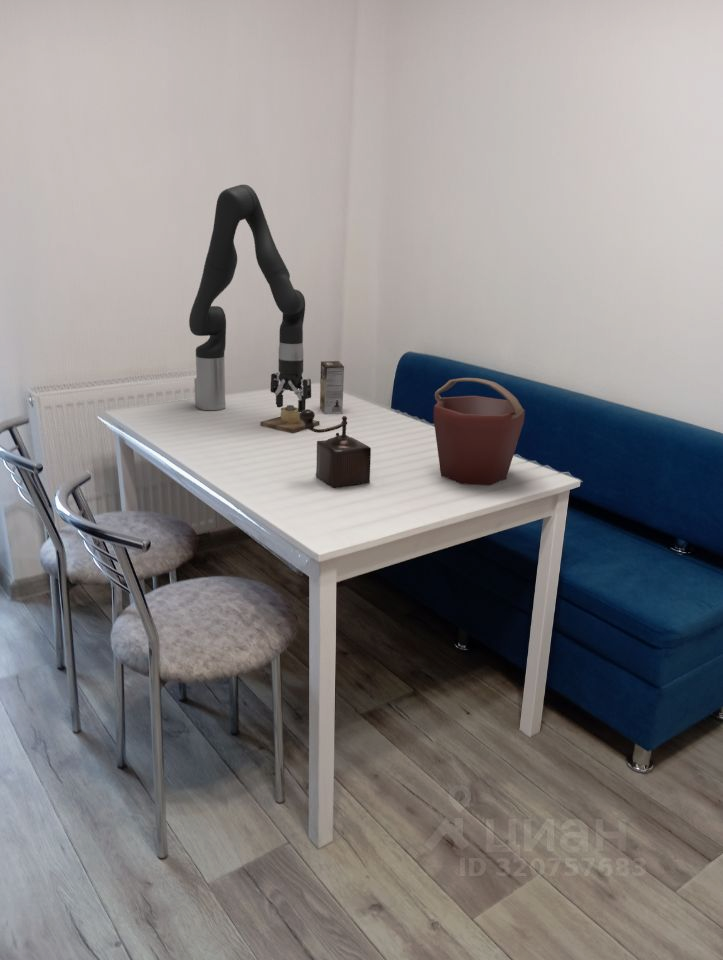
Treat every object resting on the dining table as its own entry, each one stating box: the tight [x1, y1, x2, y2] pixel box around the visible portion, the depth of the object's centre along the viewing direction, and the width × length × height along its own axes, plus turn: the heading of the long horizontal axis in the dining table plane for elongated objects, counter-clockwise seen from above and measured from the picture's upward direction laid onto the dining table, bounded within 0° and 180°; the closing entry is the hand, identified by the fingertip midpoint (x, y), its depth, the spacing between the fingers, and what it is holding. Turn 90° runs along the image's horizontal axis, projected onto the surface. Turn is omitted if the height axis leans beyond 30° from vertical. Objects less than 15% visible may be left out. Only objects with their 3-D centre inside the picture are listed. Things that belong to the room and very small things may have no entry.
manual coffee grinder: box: [299, 408, 372, 489], centre depth 198 cm, size 16×11×18 cm
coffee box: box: [319, 360, 345, 415], centre depth 267 cm, size 9×6×16 cm
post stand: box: [260, 404, 320, 434], centre depth 249 cm, size 13×13×6 cm
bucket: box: [433, 377, 526, 486], centre depth 205 cm, size 24×22×25 cm
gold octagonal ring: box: [280, 406, 301, 424], centre depth 249 cm, size 6×6×4 cm
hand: (290, 409), depth 248 cm, fingers open, 8 cm apart
